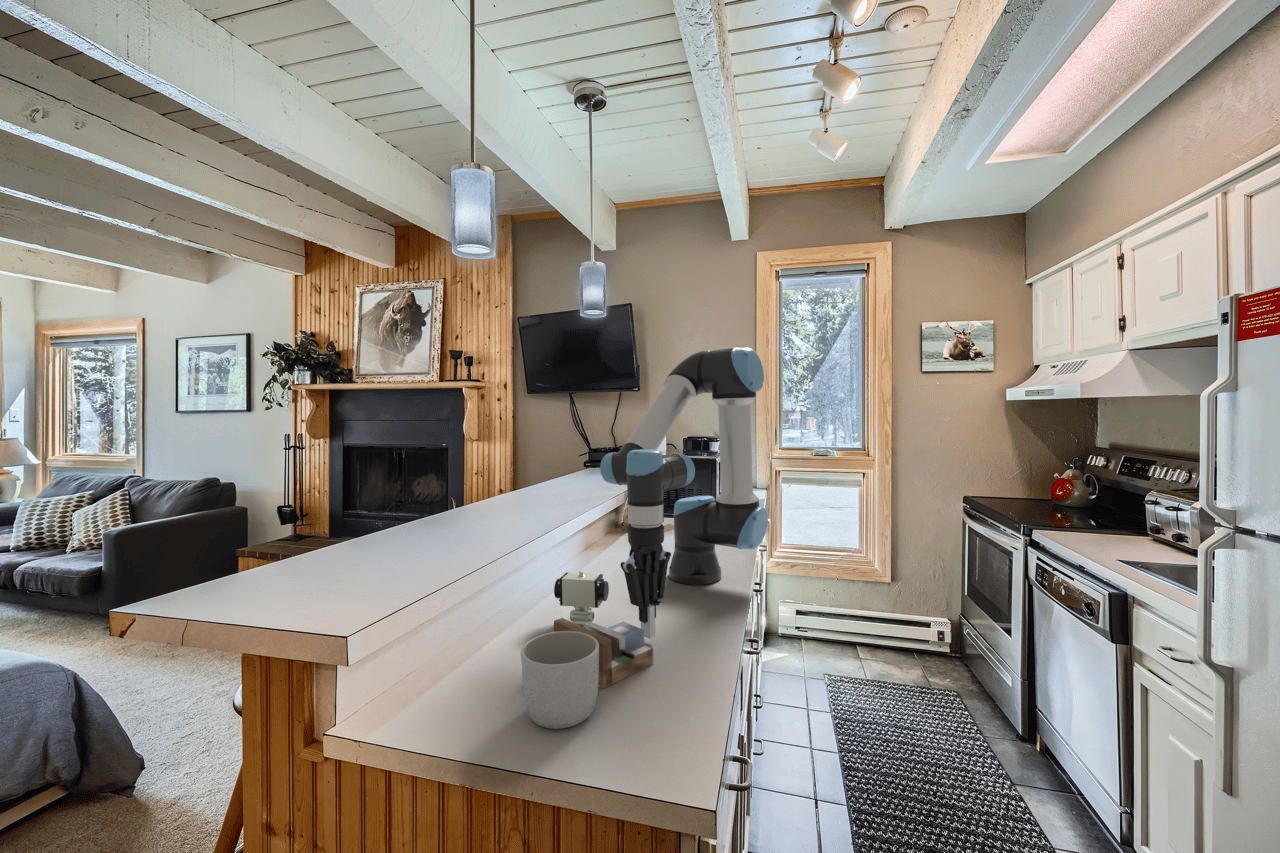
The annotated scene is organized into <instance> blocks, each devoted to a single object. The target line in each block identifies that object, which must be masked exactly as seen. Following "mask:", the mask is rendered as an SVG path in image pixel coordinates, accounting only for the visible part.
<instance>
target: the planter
mask: <svg viewBox="0 0 1280 853" xmlns="http://www.w3.org/2000/svg"><path fill="white" fill-rule="evenodd" d="M520 663H521V665H520V666H521V678H522V691H523V692H522V694H523V702H524V705H525V706H524V707H525V710H526V711H525V712H526V713H527V715H528V717H529V719H530V720H531V721H532V722H534V723H535V724H537V725H538V726H540V727H542V728H543V727H544V728H546V729H555V730H558V729H566V728H571V727H574V726H577V725H578V724H581V723H583V722H584V721H585V720H586V719H587V718H589V717H590V716H591V714H592V713H593V711H594V710H595V707H596V704H597V702H598V701H597V700H598V695H599V694H598V692H599V686H598V679H599V643H598V641H597V640H596V639H595V638H594V637H593V636H591V635H589V634H586V633H582V632H577V631H557V632H554V631H551V632H547V633H543V634H540V635H537V636H535V637H533V638H531V639H529V640H527V642H526V643H524V644H523V646H522V647H521V649H520Z"/></svg>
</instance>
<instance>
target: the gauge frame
mask: <svg viewBox="0 0 1280 853" xmlns="http://www.w3.org/2000/svg"><path fill="white" fill-rule="evenodd" d="M603 627H604V628H606V627H605V626H603ZM557 631H577V632H582V633H586V634H589V635H591V636H593V637H594V638H595V639H596V640H597V641H598V643H599V679H598V688H601V689H606V688H608V687H610V686H612V685H614V684H615V683H617V682H618V683H619V682H620V681H622V680H623V679H625V678H627V677H629V676H631V675H634V674H636V673H637V672H639V671H641V670H643V669H645V668H647V667H650V666H651V665H653V664H654V648H653V647H650V646H648V645H644V646H643V647H641V648H639V649H637V650H635V651H633V652H631V653H632V654H634V655H635V658H634V659H631V658H629V657H627V656H625V655H623V656H620V657H618V658H616V659H614V660H613V661H612V653H611V640H610V639H608V638H606V637H604V636H601V635H599V634H597V633H595V632H593V631H590V630H588V629H586V628H584V626H579V625H577V624H575V623H573V622H572V621H571V620H568V619H566V618H564V617H560V618H557V619H555V620H553V632H557Z"/></svg>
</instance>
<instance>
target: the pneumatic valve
mask: <svg viewBox="0 0 1280 853" xmlns="http://www.w3.org/2000/svg"><path fill="white" fill-rule="evenodd" d="M609 586H610V585H609V582H608V581H607V580H605V578H604V574H603V573H589V572H587V573H585V572H584V570H580V571H579V572H567V571H566V572H565V573H564V574H563V575H562V576H561V577H559V578H556V581H555V583H554V587H553V595H554V597H555V599H558V602H559V606H560V607H562V606H563V607H573V608H574V609H571V610H570V612H569V621H570V622H573V623H575V624H577V625H579V626H582V627H584V623H587V622H589V621H590V622H592V623H594V620H595V611H594V610H593V608H595V609H597V608H599V607H600V606H601V604H602V603H603V602H607V600H608V598H609V590H610V588H609Z"/></svg>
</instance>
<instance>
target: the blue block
mask: <svg viewBox="0 0 1280 853" xmlns="http://www.w3.org/2000/svg"><path fill="white" fill-rule="evenodd" d="M605 628H606V629H608V630H611V631H613V632H615V633H618V634H620V635H622V636H625V651H627V652H629V653H631V652H633V651H635V650H637V649H639V648H641V647H643V646H645V636H644V630H643V629H641V627H638V626H636V625H633V624H630V623H628V622H625V621H622V622H619V623H616V624H614V625H611V626H609V627H605Z"/></svg>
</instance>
